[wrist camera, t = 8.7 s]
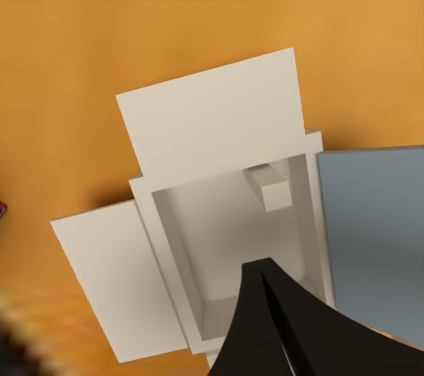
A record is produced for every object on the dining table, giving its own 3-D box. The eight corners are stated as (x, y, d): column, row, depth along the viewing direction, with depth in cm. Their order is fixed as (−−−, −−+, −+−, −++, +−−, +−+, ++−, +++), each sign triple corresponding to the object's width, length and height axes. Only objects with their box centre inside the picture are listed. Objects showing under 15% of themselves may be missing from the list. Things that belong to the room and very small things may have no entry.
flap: (337, 315, 14) (341, 308, 14) (453, 358, 10) (453, 348, 11) (317, 154, 11) (322, 151, 11) (464, 146, 8) (464, 142, 8)
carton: (324, 322, 18) (374, 410, 13) (155, 360, 19) (136, 459, 13) (285, 58, 13) (342, 23, 8) (52, 122, 14) (-47, 130, 8)
